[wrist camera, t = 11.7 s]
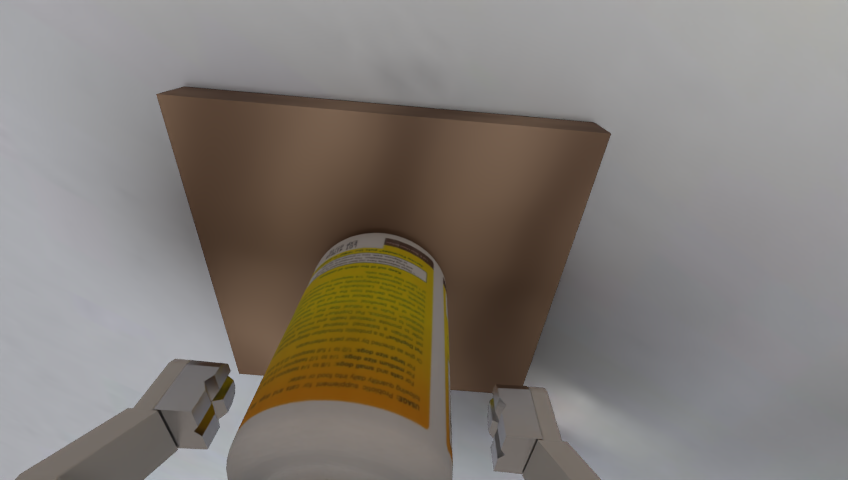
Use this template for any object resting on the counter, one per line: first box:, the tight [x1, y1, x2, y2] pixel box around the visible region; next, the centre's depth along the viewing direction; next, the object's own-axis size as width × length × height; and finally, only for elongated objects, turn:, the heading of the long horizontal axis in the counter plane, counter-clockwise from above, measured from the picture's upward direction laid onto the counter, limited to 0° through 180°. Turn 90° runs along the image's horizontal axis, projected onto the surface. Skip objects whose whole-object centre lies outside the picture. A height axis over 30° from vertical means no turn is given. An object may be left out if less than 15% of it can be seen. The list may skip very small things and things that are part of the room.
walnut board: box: [156, 87, 611, 393], centre depth 16 cm, size 15×14×2 cm
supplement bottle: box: [226, 233, 453, 480], centre depth 11 cm, size 6×6×10 cm
